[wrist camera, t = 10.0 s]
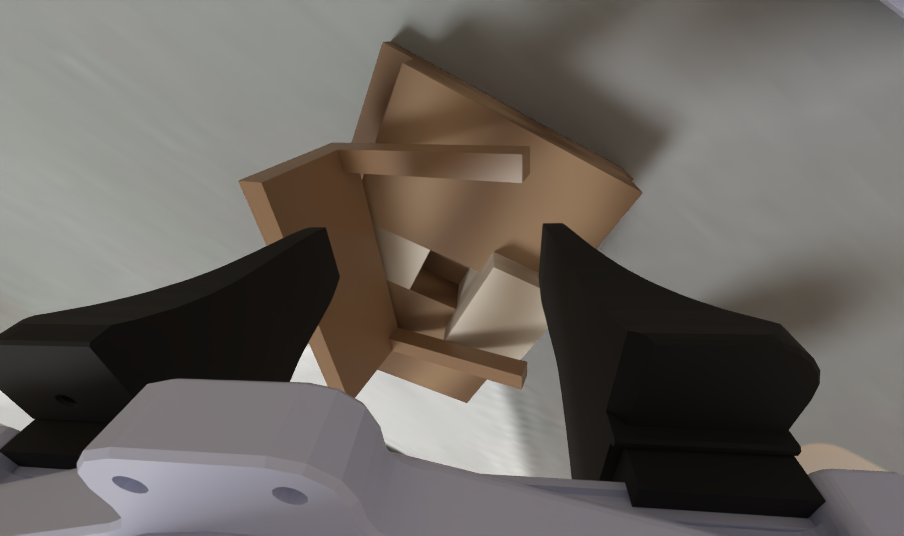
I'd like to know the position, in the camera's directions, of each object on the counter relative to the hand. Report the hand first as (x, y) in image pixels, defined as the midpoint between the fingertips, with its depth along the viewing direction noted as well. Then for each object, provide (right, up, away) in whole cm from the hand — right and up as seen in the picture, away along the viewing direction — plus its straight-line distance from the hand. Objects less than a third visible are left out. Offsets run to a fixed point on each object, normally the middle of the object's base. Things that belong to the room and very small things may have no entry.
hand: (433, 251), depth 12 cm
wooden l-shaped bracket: (0, -1, +6) cm, 6 cm away
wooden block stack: (0, +1, +11) cm, 12 cm away
